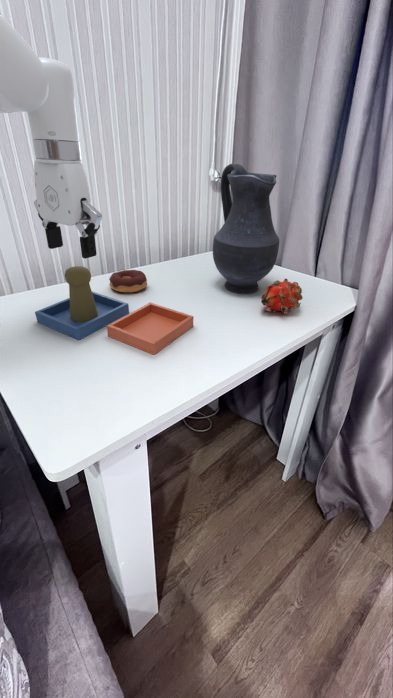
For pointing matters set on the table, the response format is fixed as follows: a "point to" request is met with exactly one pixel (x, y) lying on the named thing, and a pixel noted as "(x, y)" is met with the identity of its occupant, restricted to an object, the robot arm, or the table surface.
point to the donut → (128, 281)
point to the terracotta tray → (150, 327)
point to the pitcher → (245, 230)
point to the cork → (80, 294)
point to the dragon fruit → (282, 296)
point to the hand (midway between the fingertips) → (72, 252)
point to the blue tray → (61, 321)
